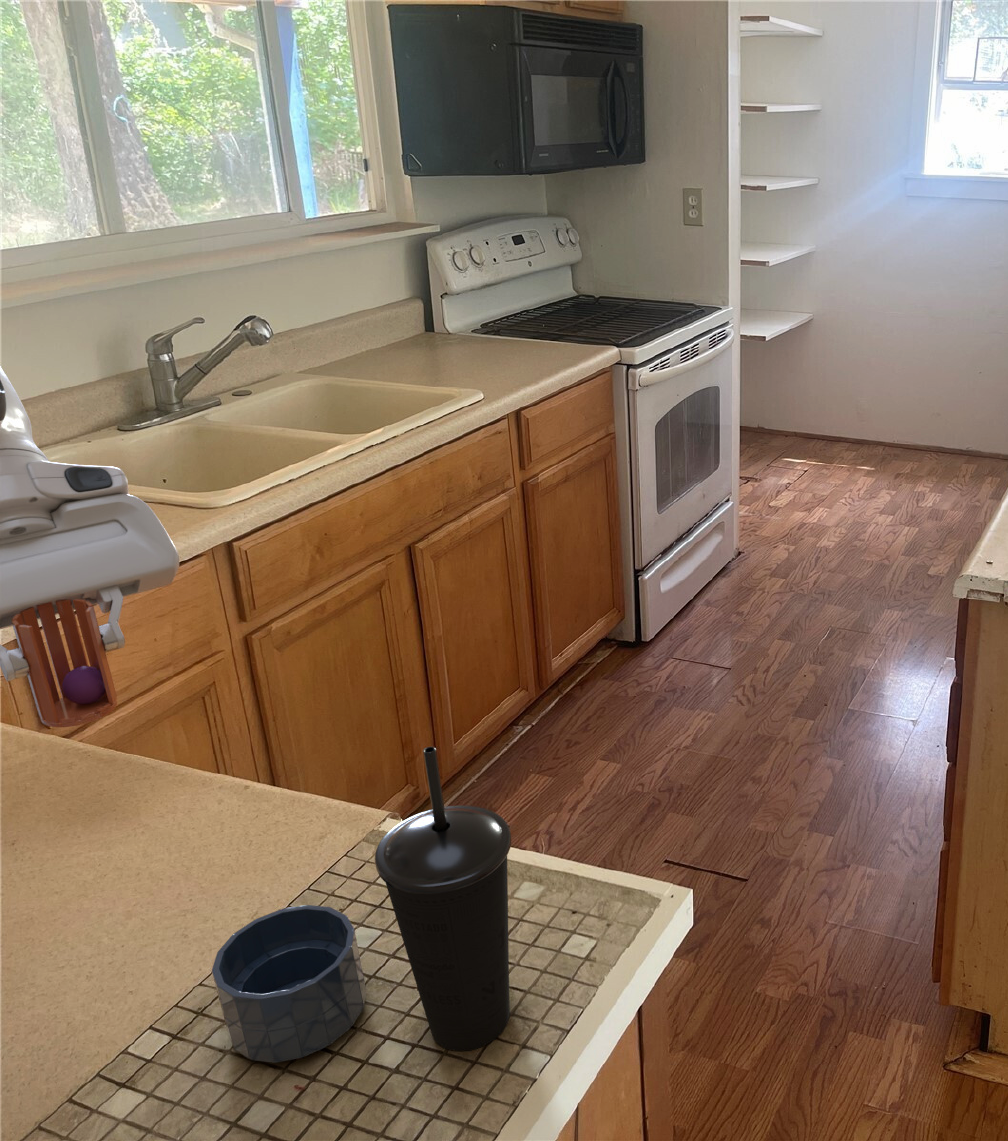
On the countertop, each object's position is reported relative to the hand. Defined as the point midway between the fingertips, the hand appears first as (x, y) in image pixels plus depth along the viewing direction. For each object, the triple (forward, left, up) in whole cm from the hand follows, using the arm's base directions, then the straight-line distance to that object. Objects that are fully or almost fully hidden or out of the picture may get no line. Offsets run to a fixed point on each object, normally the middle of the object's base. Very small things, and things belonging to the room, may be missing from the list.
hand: (68, 661), depth 82 cm
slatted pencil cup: (0, +1, -5) cm, 5 cm away
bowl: (+18, -27, -14) cm, 35 cm away
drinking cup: (+28, -30, -15) cm, 44 cm away
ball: (0, +1, -3) cm, 3 cm away
